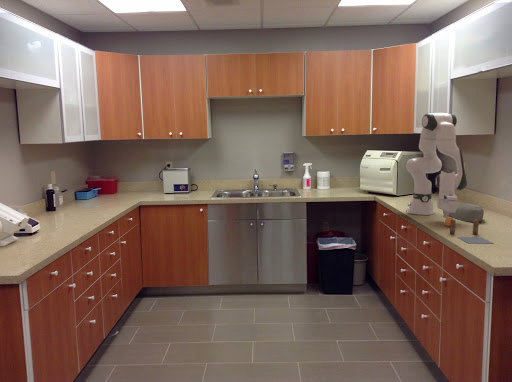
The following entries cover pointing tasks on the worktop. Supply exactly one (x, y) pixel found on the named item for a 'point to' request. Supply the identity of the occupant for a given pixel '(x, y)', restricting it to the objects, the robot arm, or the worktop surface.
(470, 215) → the stone
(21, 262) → the worktop surface
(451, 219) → the ball
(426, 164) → the robot arm
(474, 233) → the post
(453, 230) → the post
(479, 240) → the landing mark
